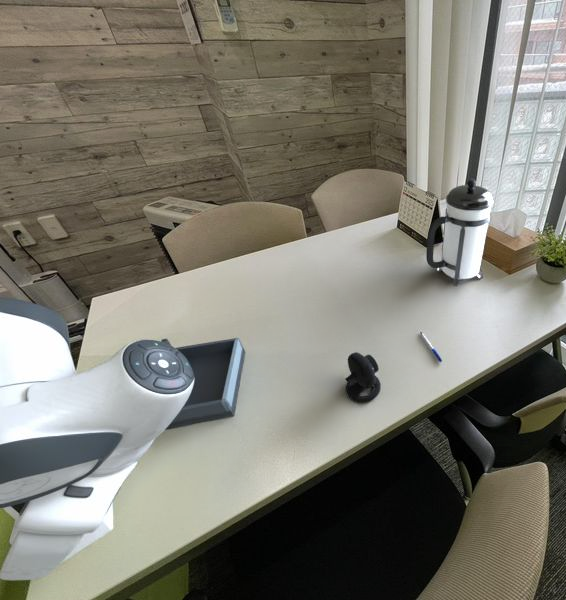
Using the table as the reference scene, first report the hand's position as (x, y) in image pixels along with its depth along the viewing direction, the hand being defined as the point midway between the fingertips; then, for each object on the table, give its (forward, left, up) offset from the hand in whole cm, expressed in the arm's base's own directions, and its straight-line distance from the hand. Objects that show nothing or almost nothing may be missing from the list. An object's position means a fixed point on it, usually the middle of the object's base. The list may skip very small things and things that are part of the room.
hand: (57, 499), depth 42 cm
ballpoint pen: (+52, -39, -12) cm, 65 cm away
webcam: (+36, -28, -12) cm, 46 cm away
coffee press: (+85, -40, -12) cm, 94 cm away
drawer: (+26, +5, -12) cm, 29 cm away
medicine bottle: (-1, -1, -7) cm, 7 cm away
